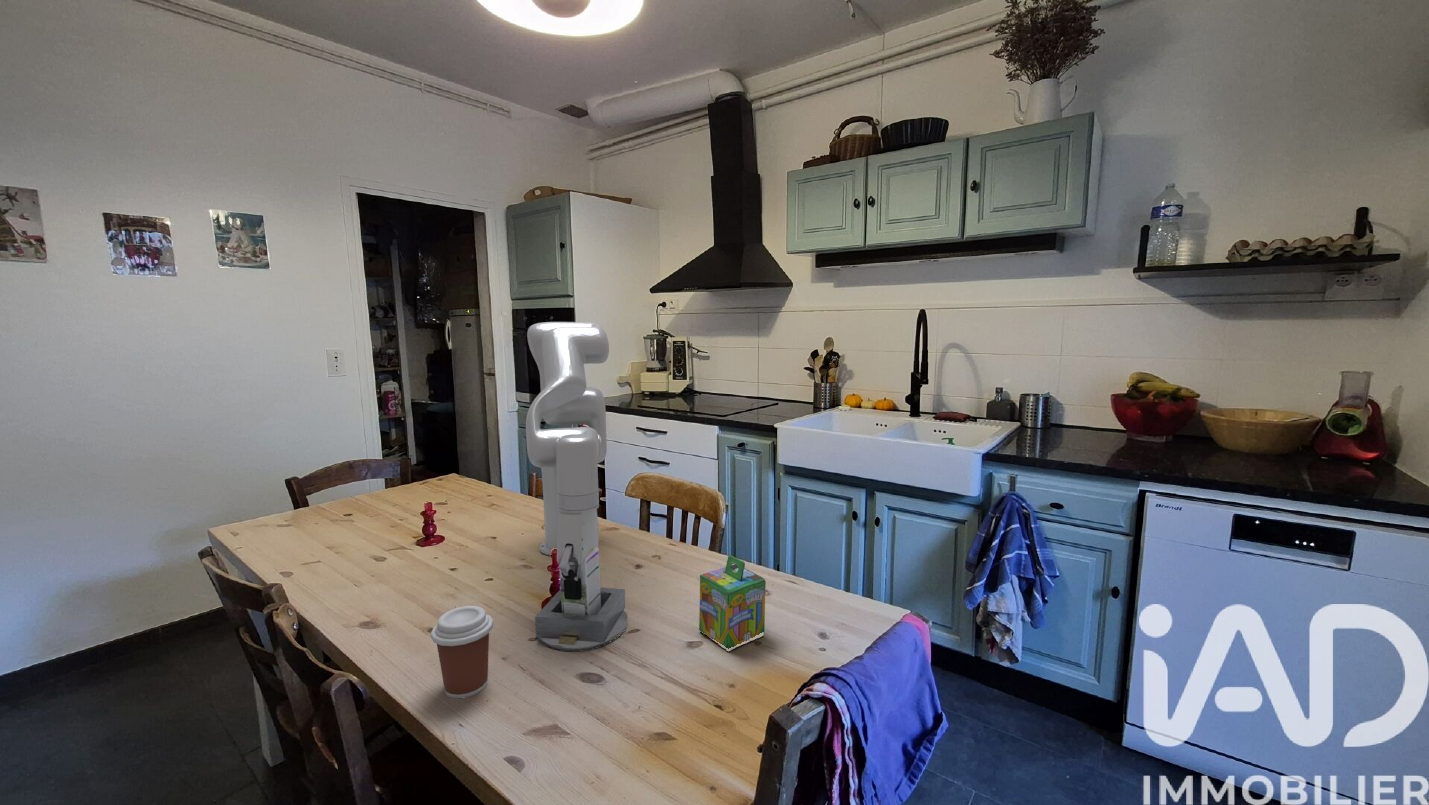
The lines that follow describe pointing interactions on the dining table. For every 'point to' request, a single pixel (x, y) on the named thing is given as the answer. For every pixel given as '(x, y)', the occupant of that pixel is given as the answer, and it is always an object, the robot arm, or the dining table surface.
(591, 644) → the open box
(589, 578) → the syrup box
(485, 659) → the coffee cup
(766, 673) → the dining table surface
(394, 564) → the dining table surface
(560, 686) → the dining table surface
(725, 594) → the chalk box
